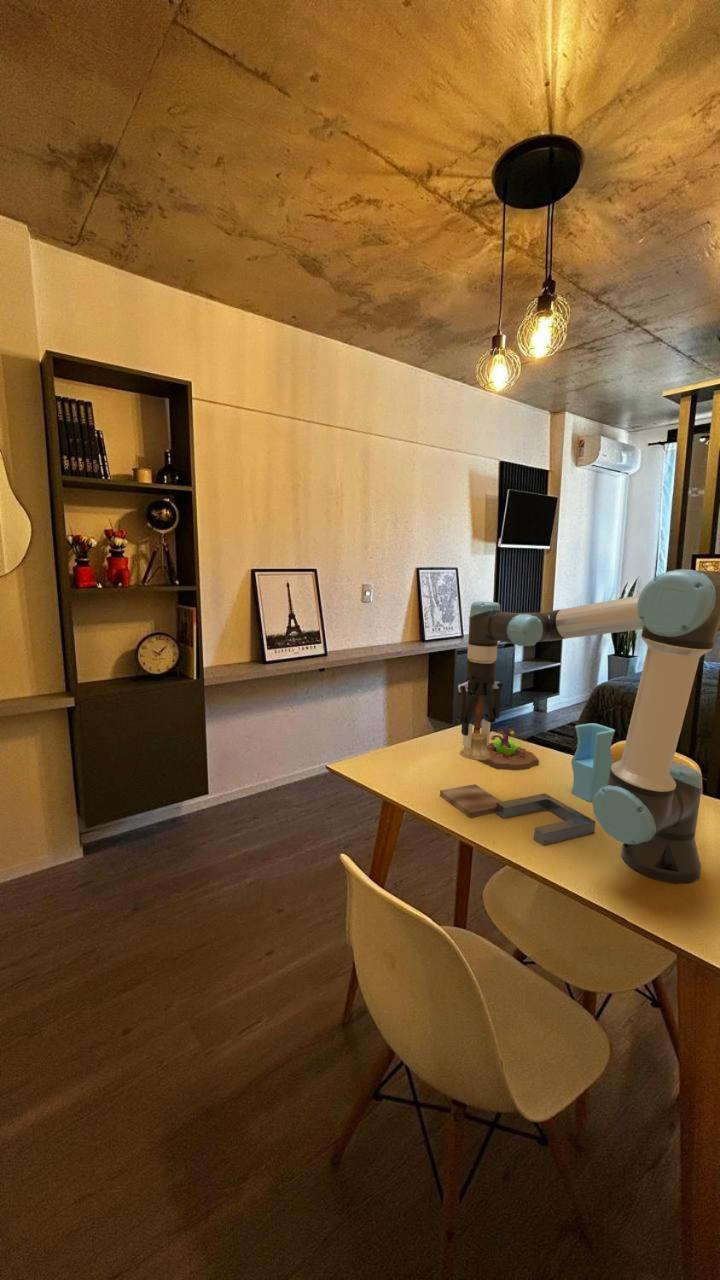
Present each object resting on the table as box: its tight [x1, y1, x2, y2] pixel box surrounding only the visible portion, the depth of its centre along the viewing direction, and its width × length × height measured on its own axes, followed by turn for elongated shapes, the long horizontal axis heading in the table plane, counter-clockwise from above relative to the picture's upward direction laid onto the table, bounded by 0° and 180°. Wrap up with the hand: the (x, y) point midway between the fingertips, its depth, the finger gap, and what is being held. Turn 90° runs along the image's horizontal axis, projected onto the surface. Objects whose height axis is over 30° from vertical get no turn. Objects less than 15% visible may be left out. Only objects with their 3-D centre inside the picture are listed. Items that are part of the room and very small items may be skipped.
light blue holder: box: [570, 722, 616, 803], centre depth 149 cm, size 8×8×20 cm
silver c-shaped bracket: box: [495, 792, 596, 846], centre depth 133 cm, size 17×16×3 cm
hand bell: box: [459, 696, 491, 761], centre depth 140 cm, size 8×8×16 cm
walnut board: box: [439, 784, 503, 819], centre depth 143 cm, size 14×12×2 cm
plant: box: [476, 728, 540, 771], centre depth 176 cm, size 20×20×11 cm
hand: (475, 745), depth 141 cm, fingers closed on hand bell, 5 cm apart
